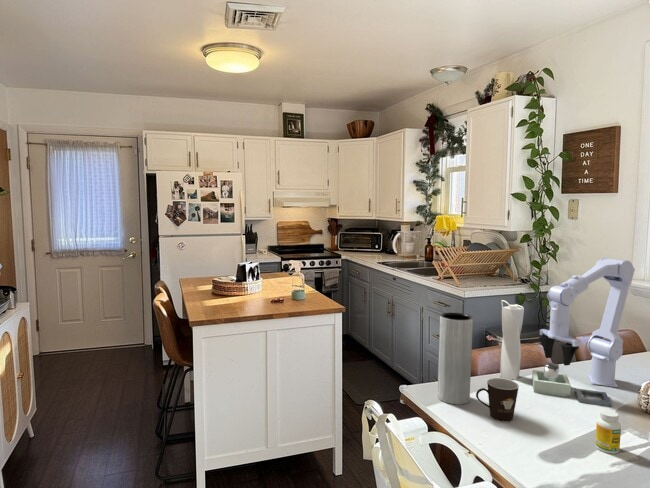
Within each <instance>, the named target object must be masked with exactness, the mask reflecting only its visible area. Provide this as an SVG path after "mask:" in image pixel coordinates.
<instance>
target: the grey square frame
mask: <svg viewBox="0 0 650 488" xmlns="http://www.w3.org/2000/svg"><path fill="white" fill-rule="evenodd" d="M574 393H575V395H576V399H577V401H578V402H579V403H580V404H581V403H582V404H590V405H596V406H604V407H609V408H611V407H612V401H611V399H610V398H609V396H608V393H607V392H605V391H600V390H599V391H598V390H590V389H583V388H576V387H574ZM585 395H586V396H593V397H599V398H601V399H597V398H589V397H584V396H585Z"/></svg>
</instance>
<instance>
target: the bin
mask: <svg viewBox="0 0 650 488" xmlns="http://www.w3.org/2000/svg"><path fill="white" fill-rule="evenodd" d="M531 376H532V377H531V382H532V383H531V384H532V389H533V392H534V393H536V394H537V393H538V394H544V395H550V396H557V397H565V398H571V391H572V390H571V387H572V386H571V382H570V380H569V379H570V378H569V377H568V374H566V373H560V372H559V373H558V382H550V381H544V370H535V369H532V375H531Z"/></svg>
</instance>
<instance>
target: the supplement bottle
mask: <svg viewBox="0 0 650 488" xmlns="http://www.w3.org/2000/svg"><path fill="white" fill-rule="evenodd" d="M599 411H600V412H599V413H600V414H599V416H600V417H599V418H597V420H596V428H595V430H596V431H595V442H594V443H595V447H596V449H598V450H599V451H601V452H603V453H605V454H610V453H612V454H613V455H614V454H615V455H616V454H619V453H620V448H621V447H620V446H621V434H622V433H621V432H622V424H621V422H619V418H620V417H619V413H618V412H617V411H614V410H610V409H609V410H608V409H601V410H599Z"/></svg>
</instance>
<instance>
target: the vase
mask: <svg viewBox="0 0 650 488" xmlns="http://www.w3.org/2000/svg"><path fill="white" fill-rule="evenodd" d="M473 322H474V320H473V316H472V315H470V314H466V313H464V312H463V313H462V312H444V313H441V314H440V316H439V339H438V342H439V343H438V344H439V345H438V367H437V368H438V369H437V373H438V374H437V398H438V400H440V401H442V402H443V403H446V404H450V405H465V404H467V403H469V402H470V400H471V399H470V397H471V396H470V395H471V375H472V369H471V368H472V351H473V350H472V348H473V326H474V325H473Z"/></svg>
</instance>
